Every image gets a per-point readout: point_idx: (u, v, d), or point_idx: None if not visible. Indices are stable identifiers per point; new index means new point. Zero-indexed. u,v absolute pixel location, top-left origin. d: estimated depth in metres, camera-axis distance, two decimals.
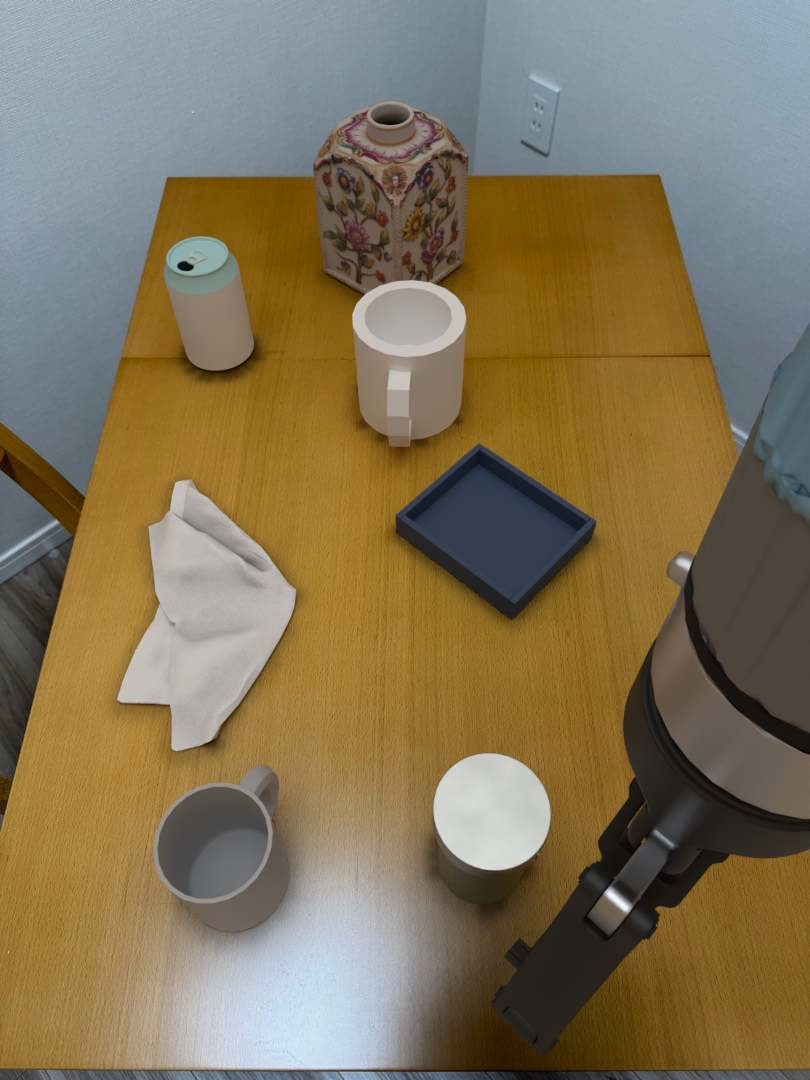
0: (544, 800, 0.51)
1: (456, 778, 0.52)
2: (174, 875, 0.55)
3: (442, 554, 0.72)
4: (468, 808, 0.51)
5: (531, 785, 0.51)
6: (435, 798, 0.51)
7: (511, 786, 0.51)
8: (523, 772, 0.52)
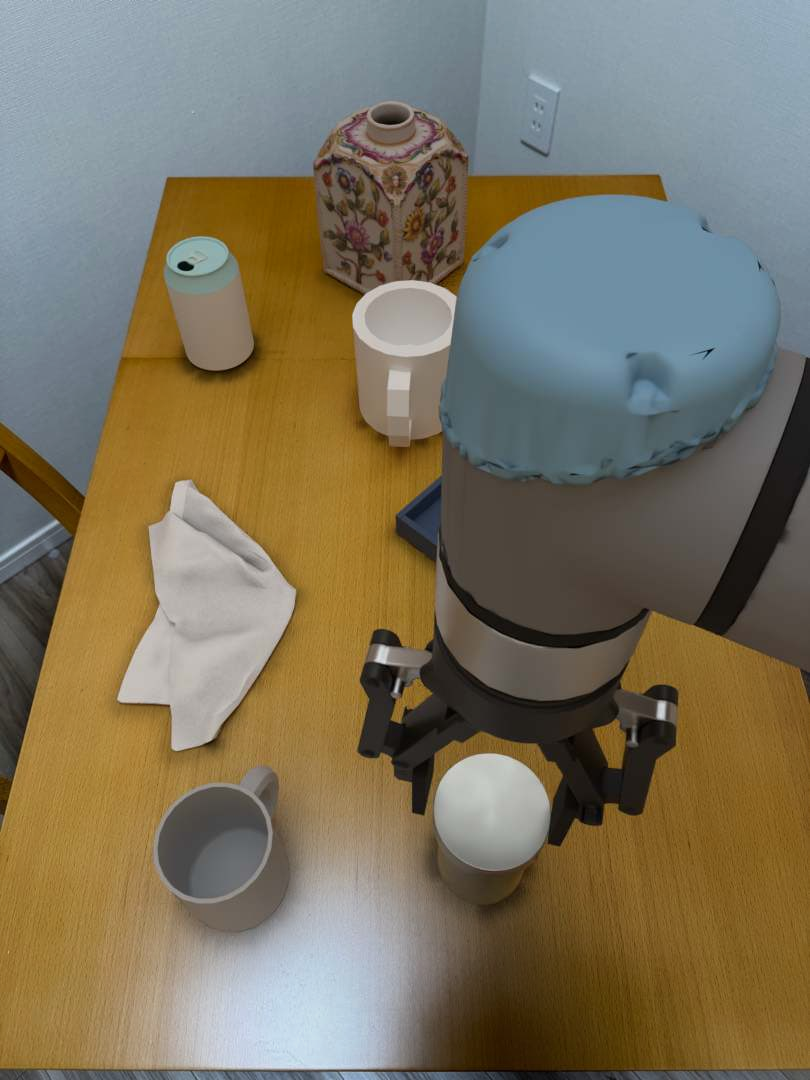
0: (544, 800, 0.51)
1: (456, 778, 0.52)
2: (174, 875, 0.55)
3: None
4: (468, 808, 0.51)
5: (531, 785, 0.51)
6: (435, 798, 0.51)
7: (511, 786, 0.51)
8: (523, 772, 0.52)
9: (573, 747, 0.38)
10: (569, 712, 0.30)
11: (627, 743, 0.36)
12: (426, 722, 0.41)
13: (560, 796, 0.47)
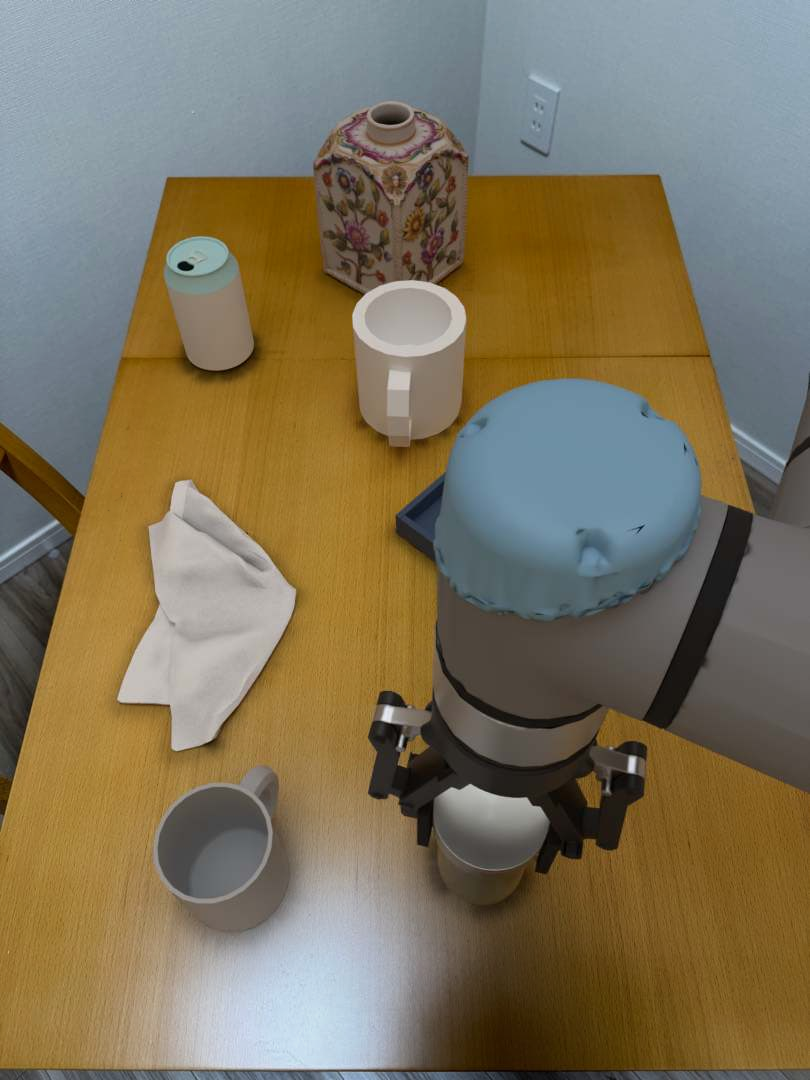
0: None
1: None
2: (174, 875, 0.55)
3: None
4: (468, 808, 0.51)
5: None
6: (435, 798, 0.51)
7: None
8: None
9: (555, 794, 0.43)
10: (548, 774, 0.35)
11: (602, 792, 0.41)
12: (428, 769, 0.46)
13: None
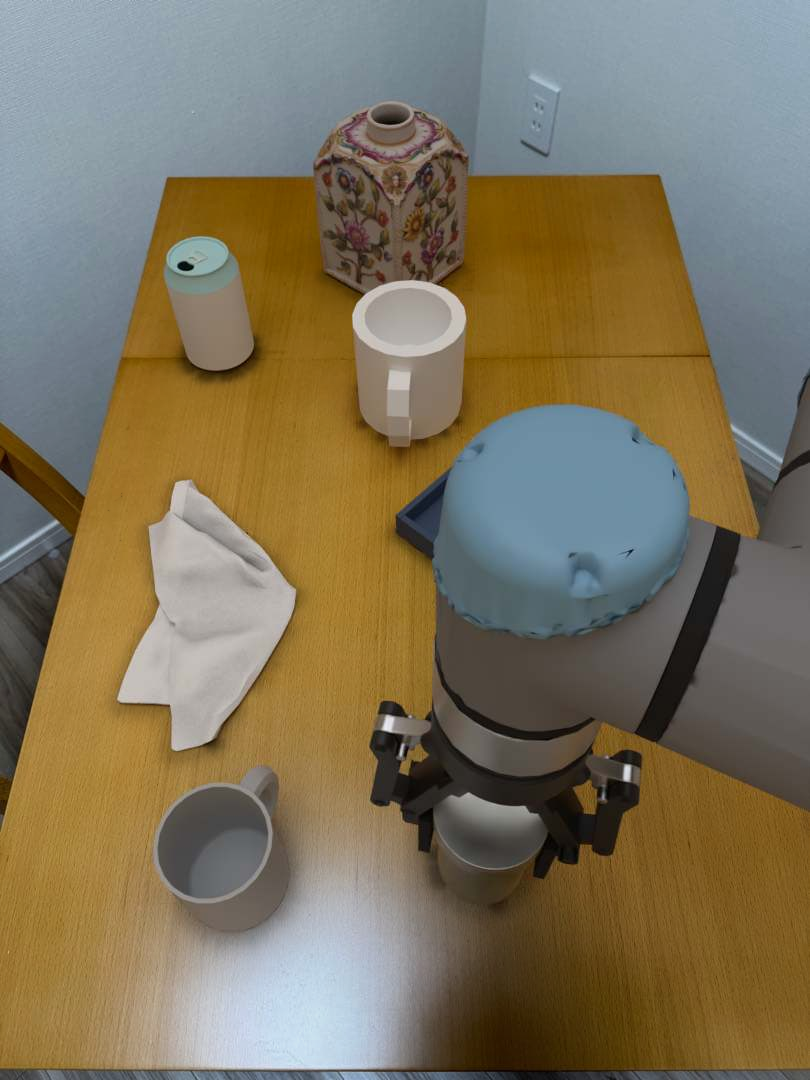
0: None
1: (457, 839, 0.49)
2: (174, 875, 0.55)
3: None
4: (489, 831, 0.50)
5: None
6: (476, 864, 0.49)
7: None
8: None
9: (552, 801, 0.44)
10: (544, 783, 0.36)
11: (598, 800, 0.42)
12: (429, 777, 0.47)
13: None
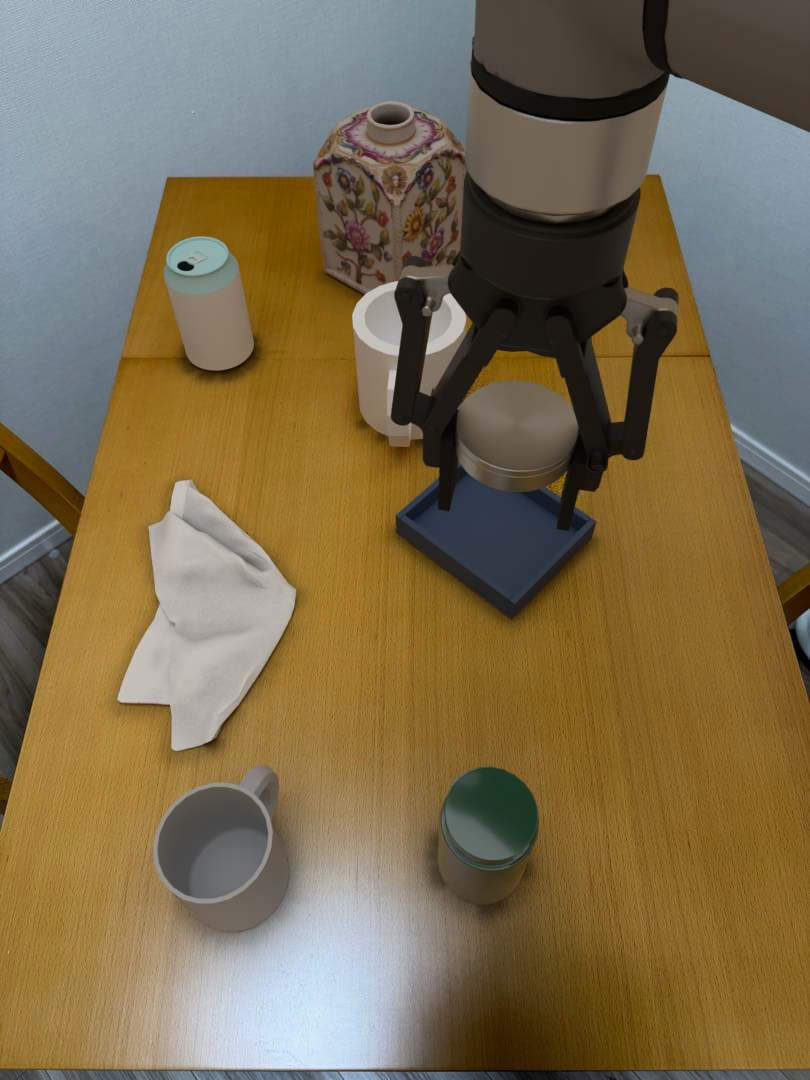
0: (510, 383, 0.50)
1: (482, 448, 0.48)
2: (174, 875, 0.55)
3: (442, 554, 0.72)
4: (515, 441, 0.48)
5: (494, 391, 0.50)
6: (502, 467, 0.47)
7: (494, 405, 0.49)
8: (480, 394, 0.50)
9: (584, 359, 0.42)
10: (585, 241, 0.35)
11: (633, 338, 0.41)
12: (453, 366, 0.46)
13: (568, 470, 0.51)
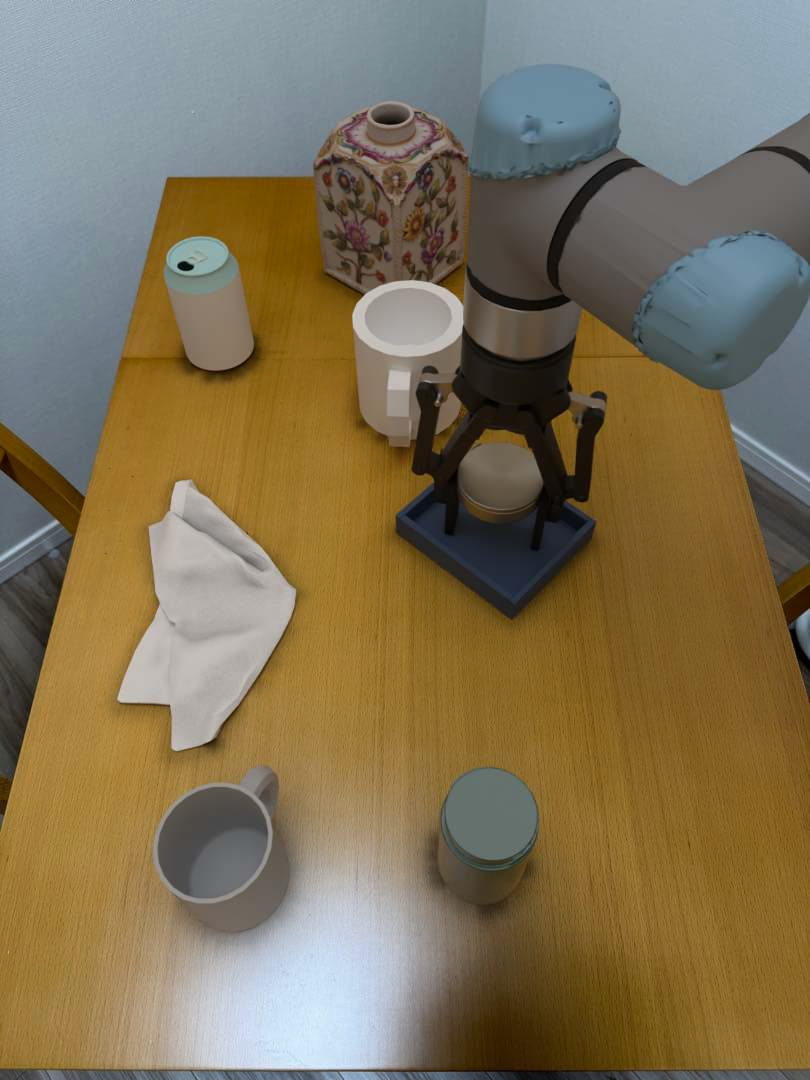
0: (497, 444, 0.70)
1: (475, 492, 0.68)
2: (174, 875, 0.55)
3: (442, 554, 0.72)
4: (498, 488, 0.68)
5: (485, 450, 0.70)
6: (489, 507, 0.67)
7: (484, 461, 0.69)
8: (475, 453, 0.70)
9: (544, 437, 0.62)
10: (538, 372, 0.55)
11: (576, 425, 0.61)
12: (456, 437, 0.66)
13: None
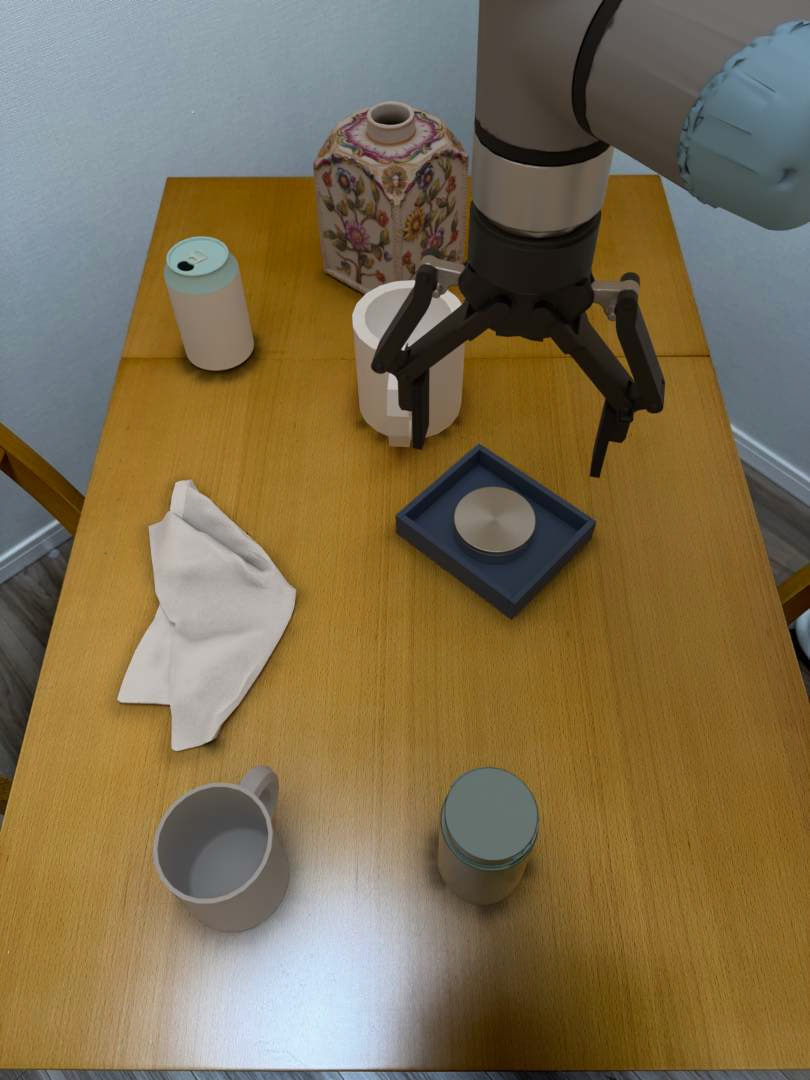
0: (491, 489, 0.75)
1: (471, 535, 0.73)
2: (174, 875, 0.55)
3: (442, 554, 0.72)
4: (493, 531, 0.73)
5: (479, 494, 0.75)
6: (484, 549, 0.72)
7: (479, 505, 0.74)
8: (470, 497, 0.75)
9: (577, 336, 0.54)
10: (558, 251, 0.47)
11: (608, 317, 0.52)
12: (440, 333, 0.57)
13: (600, 425, 0.62)
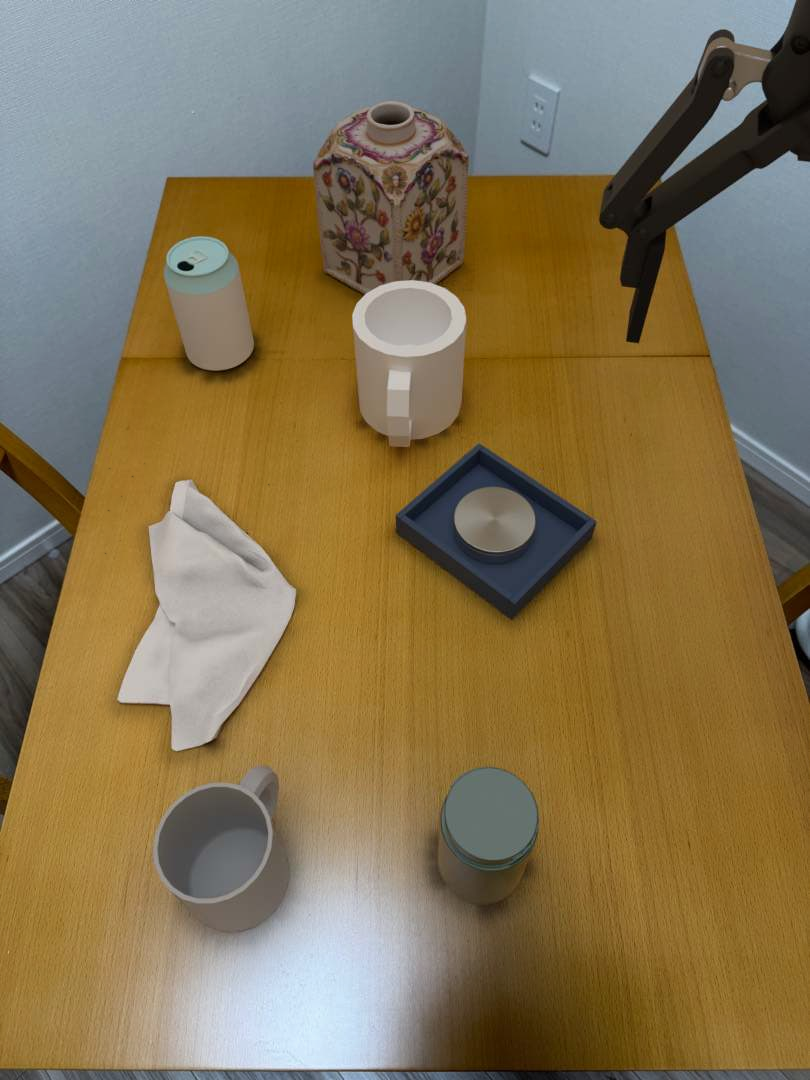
0: (491, 489, 0.75)
1: (471, 535, 0.73)
2: (174, 875, 0.55)
3: (442, 554, 0.72)
4: (493, 531, 0.73)
5: (479, 494, 0.75)
6: (484, 549, 0.72)
7: (479, 505, 0.74)
8: (470, 497, 0.75)
9: None
10: None
11: None
12: (710, 163, 0.42)
13: None
